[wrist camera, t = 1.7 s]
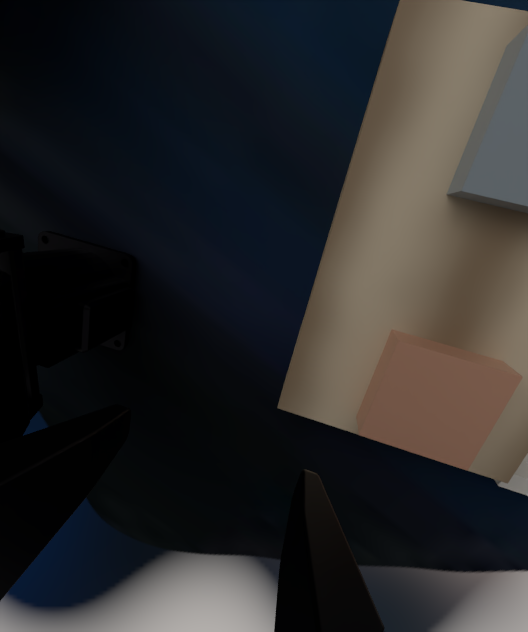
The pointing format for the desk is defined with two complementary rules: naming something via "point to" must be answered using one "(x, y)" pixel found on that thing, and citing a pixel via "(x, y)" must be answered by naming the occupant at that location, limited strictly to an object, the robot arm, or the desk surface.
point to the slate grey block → (499, 138)
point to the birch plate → (420, 231)
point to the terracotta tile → (435, 399)
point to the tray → (518, 479)
